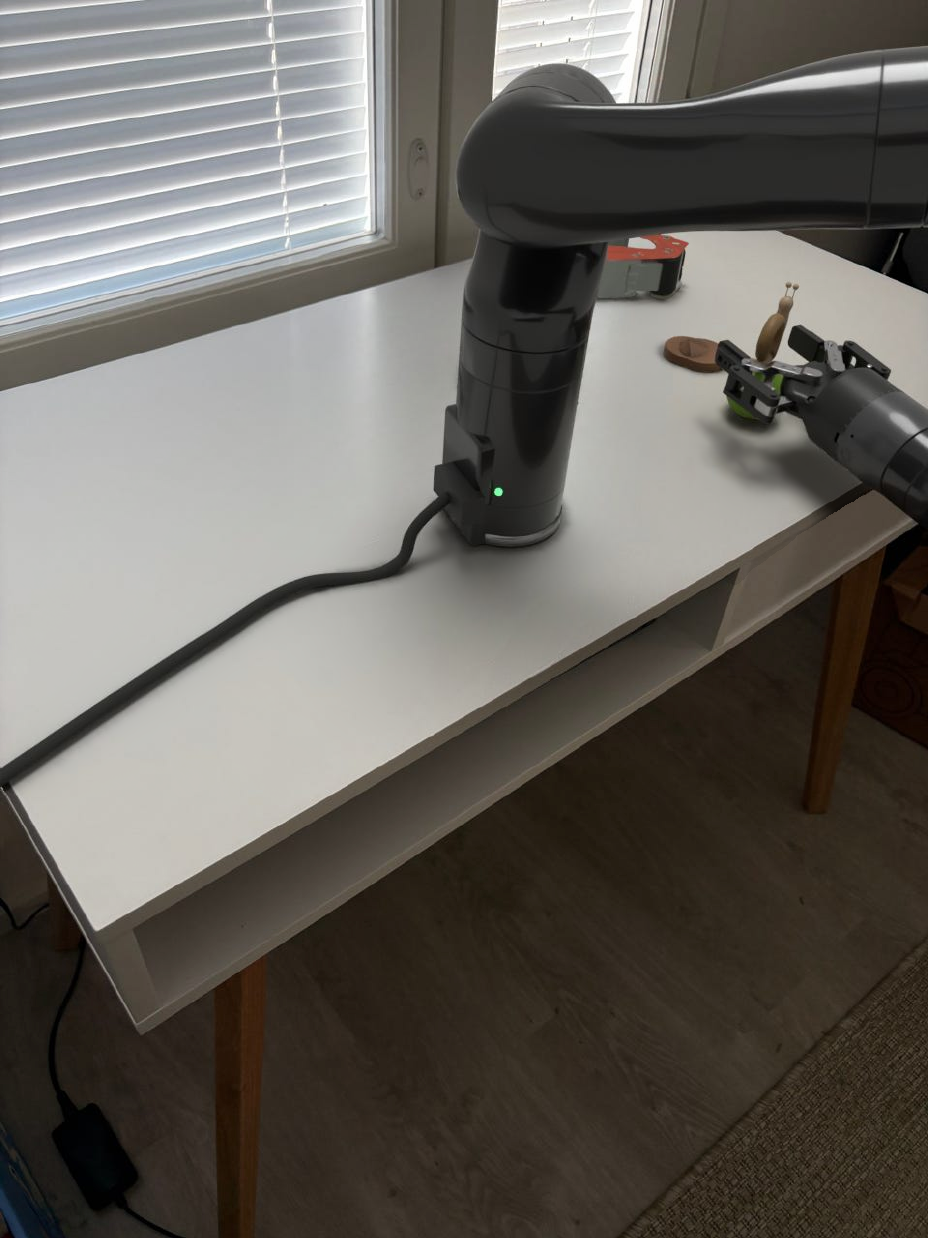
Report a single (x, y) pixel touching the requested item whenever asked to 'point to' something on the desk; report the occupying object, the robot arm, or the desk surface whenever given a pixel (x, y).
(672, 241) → the tape dispenser
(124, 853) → the desk surface
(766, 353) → the snail figurine
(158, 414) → the desk surface
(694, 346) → the spoon
